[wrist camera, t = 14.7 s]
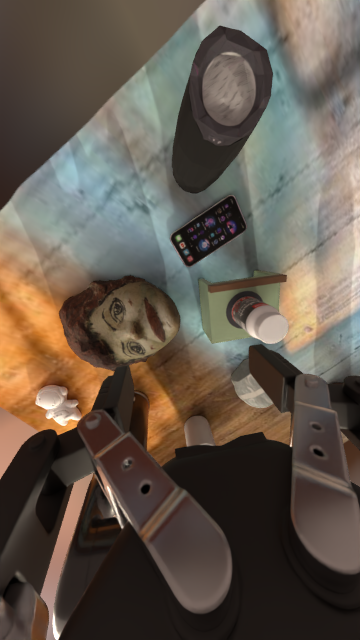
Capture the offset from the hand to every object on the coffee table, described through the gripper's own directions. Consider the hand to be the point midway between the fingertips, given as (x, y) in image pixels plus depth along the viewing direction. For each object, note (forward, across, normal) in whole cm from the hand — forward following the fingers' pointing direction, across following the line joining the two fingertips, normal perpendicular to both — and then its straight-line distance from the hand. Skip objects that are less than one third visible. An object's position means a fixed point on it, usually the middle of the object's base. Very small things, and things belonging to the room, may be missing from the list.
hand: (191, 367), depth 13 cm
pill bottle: (+24, -14, +5) cm, 28 cm away
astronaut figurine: (+32, +30, +26) cm, 51 cm away
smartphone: (+32, -10, -10) cm, 35 cm away
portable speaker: (+32, -8, -21) cm, 39 cm away
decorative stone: (+32, -20, +28) cm, 47 cm away
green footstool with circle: (+32, -14, +5) cm, 35 cm away
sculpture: (+32, +11, +6) cm, 34 cm away
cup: (+32, -4, +42) cm, 53 cm away
